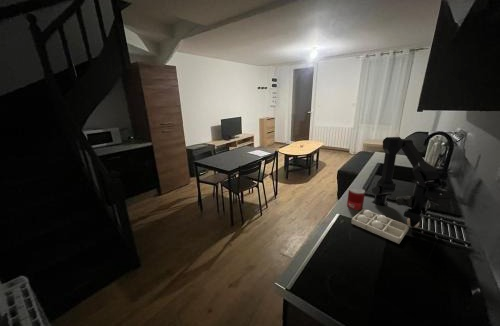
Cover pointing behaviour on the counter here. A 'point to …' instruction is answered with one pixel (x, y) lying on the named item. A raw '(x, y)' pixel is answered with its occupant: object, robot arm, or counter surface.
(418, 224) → the brown egg
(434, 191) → the robot arm
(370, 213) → the white egg
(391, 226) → the egg tray
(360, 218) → the white egg
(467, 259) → the counter surface
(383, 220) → the white egg
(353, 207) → the canned food
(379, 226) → the white egg
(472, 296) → the counter surface
